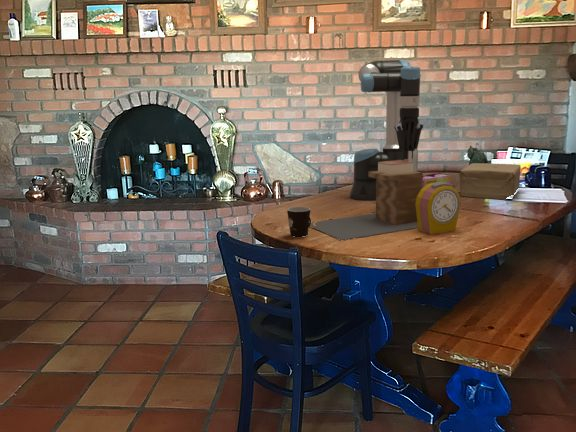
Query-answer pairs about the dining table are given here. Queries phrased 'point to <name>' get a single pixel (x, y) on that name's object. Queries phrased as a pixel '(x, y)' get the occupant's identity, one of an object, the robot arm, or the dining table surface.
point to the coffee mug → (299, 221)
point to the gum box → (435, 179)
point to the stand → (397, 196)
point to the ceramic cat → (476, 155)
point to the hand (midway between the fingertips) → (407, 167)
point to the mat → (360, 226)
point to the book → (395, 167)
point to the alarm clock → (437, 208)
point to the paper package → (489, 180)
